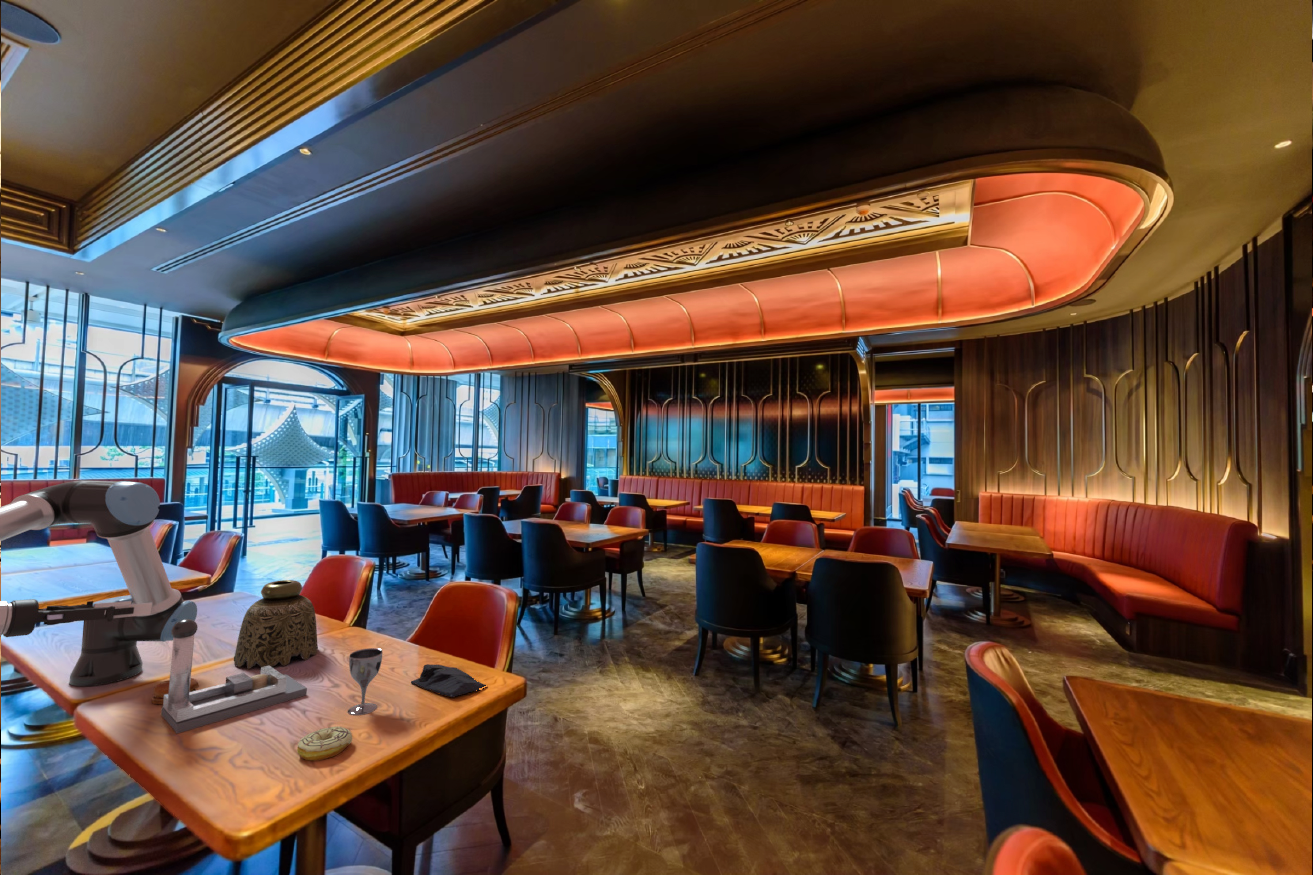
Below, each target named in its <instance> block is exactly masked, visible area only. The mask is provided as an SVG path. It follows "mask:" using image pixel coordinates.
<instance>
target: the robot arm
mask: <svg viewBox="0 0 1313 875" xmlns="http://www.w3.org/2000/svg"><path fill="white" fill-rule="evenodd" d="M160 506H161V500H160V497H159V494H158V493H157V491H156V490H155V489H154V488H153V487H152V486H150V485H148V484H147V483H143V482H137V481H129V480H121V481H113V480H112V481H108V480H107V481H105V480H102V481H101V480H73V481H68V482H62V483H58V484H54V485H50V486H48V487H47V486H46V487H44V488H40V489H38V490H34V491H31V492H28V493H25V494H22V495H19V496H17V497H15V498H14V499H13V500H12V501H10V503H9V504H6V505H5V504H4V505H3V506H0V542H2V541H5V540H7V539H10V538H13V537H15V536H17V535H20V534H22V533H24V532H27V531H30V530H33V531H40V530H43V529H46V528H48V527H52V526H57V525H65V524H66V525H68V524H80V525H81V524H82V525H85V524H87V525H92V527H93V529H94V531H95V534H96V536H97V537H99V538H101V539H106V540H107V542H108V544H109V547H110V549H111V552H112V554H113V556H114V558H115V561H116V564H117V566H118V568H119V570H120V573H121V576H122V578H123V581H124V583H125V585H126V588H127V590H128V592H129V594H128V595H122V596H116V597H111V598H106V599H101V600H97V601H93V600H90V601H88V600H87V601H86V603H82V604H75V605H47V606H46V608H44V607H43V608H40V605H39V601H38V600H37V599H35V598H32V599H19V600H17V599H16V600H12V601H10V602H8V601H7V600H0V637H1V636H2V635H3V637H5V638H12V637H23V636H28V635H30V634H32V632H33V631H34V630H35V628H36V627H35V626H36V625H37V624H38V623H43V626H44V625H45V626H55V625H59V624H68V623H69V624H70V623H74V622H81V621H82V622H83V625H82V626H83V628H82V638H81V651H80V655H79V657H78V659H77V661H76V663H75V665H74V667H73V668H72V671H71V673H70V675H69V680H68V681H69V685H70V686H75V687H91V686H98V685H106V684H110V683H111V684H112V683H115V682H119V681H122V680H125V679H126V680H127V679H129V678H131V677H134V676H136V675H138V674H139V673H141V672H142V671H143V664H144V663H143V660H142V657H141V654H140V652H139V648H138V647H137V643H138V642H162V643H163V642H169V641H170V642H173V636H172V634H171V630H172V628H173V626H174V625H175V624H176V623H177V622H179V621H181V620H185V619H190V620H193V621H195V622H196V619H197V615H198V605H197V604H196V602H194V601H191V600H184V598H183V595H182V593H181V592H180V590H178V589H175V588H172V586H171V583H170V580H169V577H168V575H167V572H166V569H165V567H164V565H163V564H164V563H163V561H162V558H161V556H160V553H159V551H158V548H157V545H156V543H155V539H154V537H153V533H152V532H151V528H150V527H151V525H153V524H154V522H155V518H157V515H158V514H159V511H160V509H159V507H160Z"/></svg>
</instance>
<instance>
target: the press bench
mask: <svg viewBox="0 0 1313 875" xmlns="http://www.w3.org/2000/svg"><path fill="white" fill-rule="evenodd" d="M283 675H284V676H286V677H287V678H286V691H285V692H282V693H279V694H275V695H272V696H268V697H265V698H261V699H258V700H254V701H251V702H247V703H244V704H240V705H237V706H233V707H230V708H226V709H223V710H219V711H216V712H212V713H209V714H205V715H201V716H198V717H194V718H191V719H187V720H184V721H180V722H176V721H175V720H174V719H173V718H172V717H171V716H170V714H169V713H168V712H167V711H166V710H165V709H164V707H163V706H161V711H160V713H161V714H160V715H161V716H162V718H163V719H164V720H165V721H166V722H167V723H168V725H169V726H170V727H171V729H173V731H174V732H175V733H176V734H179V733H184V732H186V731H191V730H194V729H197V728H200V727H204V726H208V725H210V724H214V723H217V722H221V721H224V720H226V719H227V720H228V719H230V718H231V719H232V718H233V717H237V716H241V715H245V714H248V713H251V712H254V711H257V710H260V709H264V708H265V709H266V708H267V707H271V706H275V705H278V704H281V703H284V702H288V701H292V700H295V699H298V698H302V697H304V696H307V692H308V688H307V687H306V686H305V685H303V684H302V683H300V682H299V681H298V680H295V679H294V678H293V677H291V676H290V675H288V674H287V673H286V674H283ZM224 698H227V697H225V693H224V694H220V695H216V696H212V697H209V698H205V699H201V700H197V701H193V702H190V703H191V704H192V705H193V706H198V705H202V704H205V703H209V702H213V701H216V700H220V699H224Z"/></svg>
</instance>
